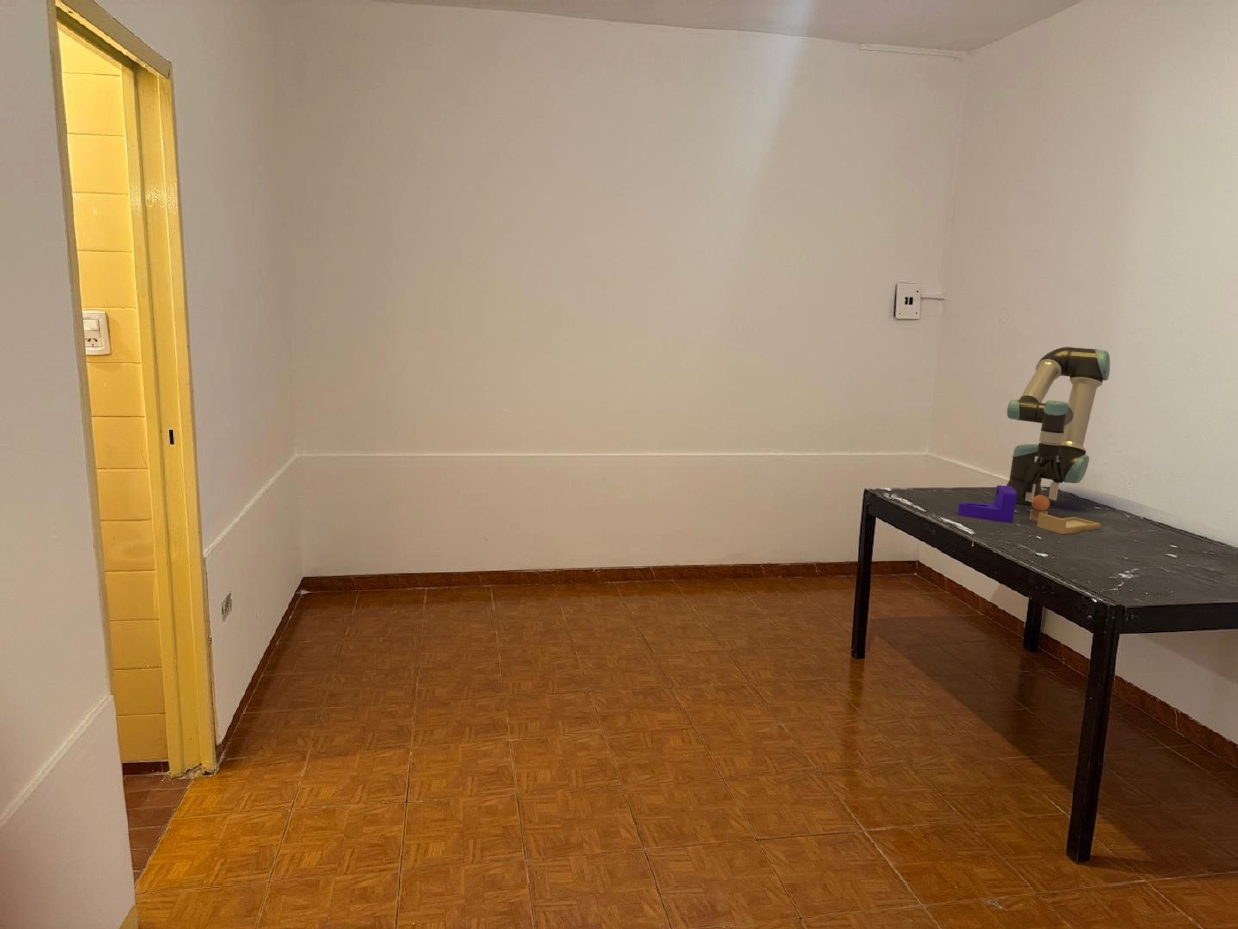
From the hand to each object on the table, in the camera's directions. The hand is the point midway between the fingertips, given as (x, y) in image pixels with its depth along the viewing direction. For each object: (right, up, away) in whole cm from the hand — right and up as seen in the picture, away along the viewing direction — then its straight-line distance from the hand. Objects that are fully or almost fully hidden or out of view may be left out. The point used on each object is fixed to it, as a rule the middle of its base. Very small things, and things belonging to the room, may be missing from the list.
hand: (1040, 500), depth 317 cm
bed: (+7, -10, -6) cm, 14 cm away
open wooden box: (0, -7, +2) cm, 8 cm away
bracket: (-20, -6, +3) cm, 21 cm away
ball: (0, -1, +1) cm, 1 cm away
